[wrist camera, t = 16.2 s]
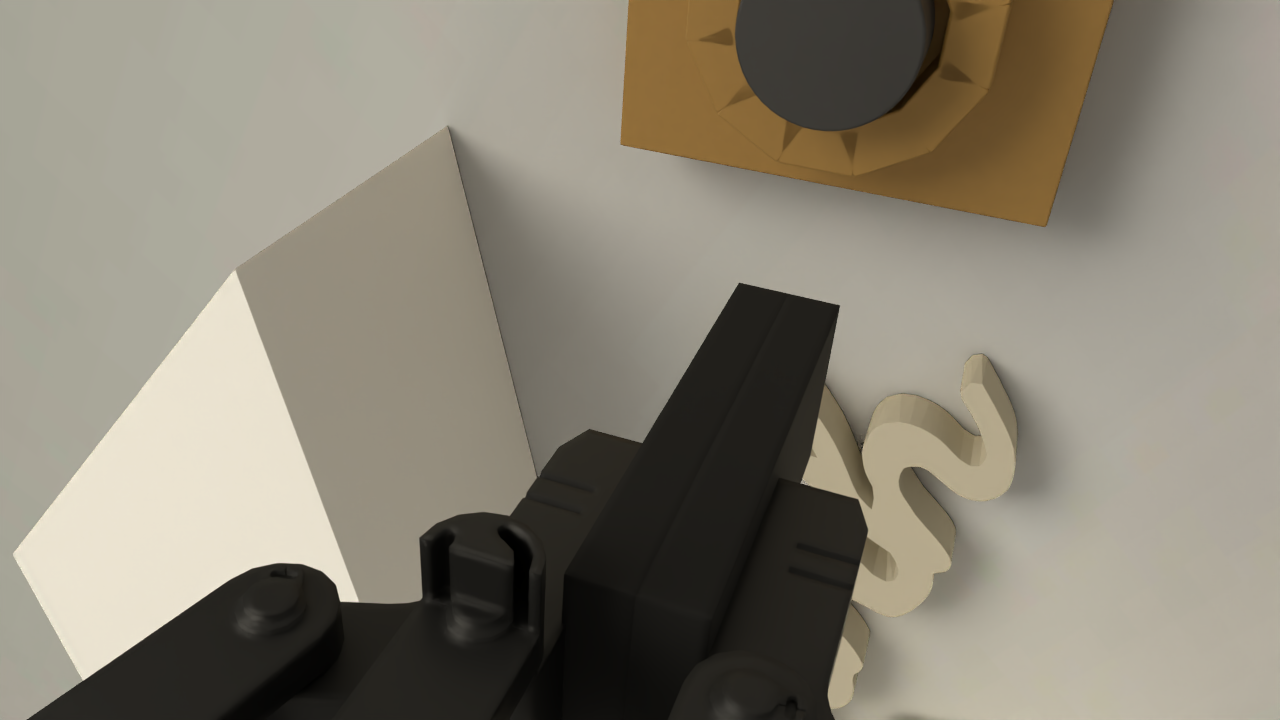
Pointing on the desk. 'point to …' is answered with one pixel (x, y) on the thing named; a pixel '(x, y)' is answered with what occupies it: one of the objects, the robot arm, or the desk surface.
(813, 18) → the button
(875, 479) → the decorative sign
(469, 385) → the white box
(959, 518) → the desk surface
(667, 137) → the button box
